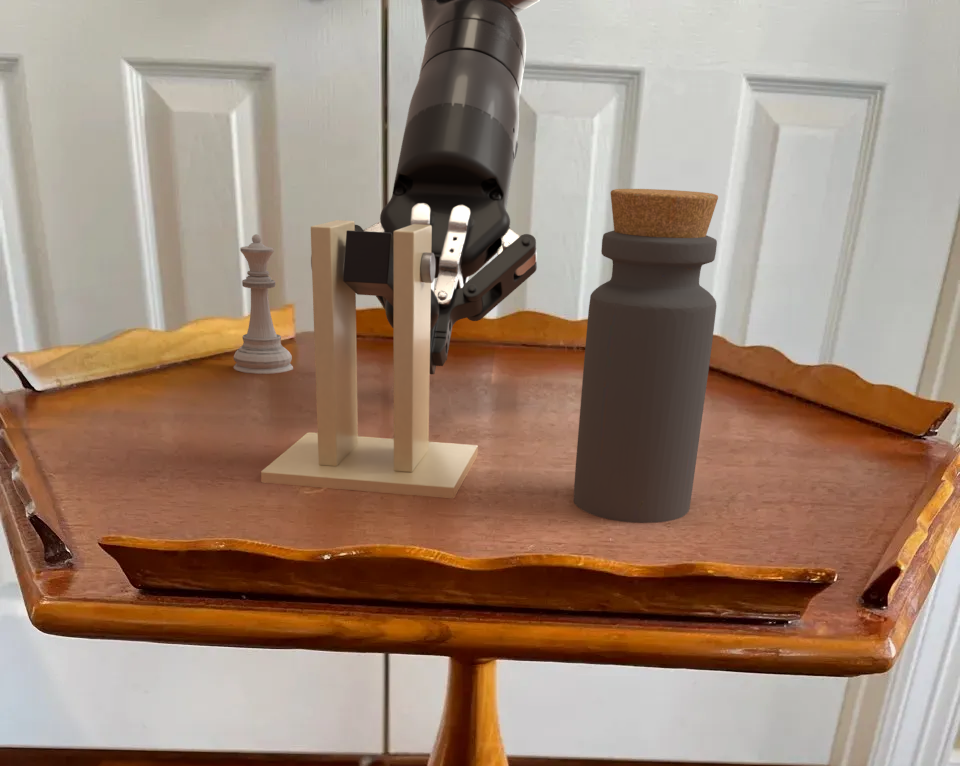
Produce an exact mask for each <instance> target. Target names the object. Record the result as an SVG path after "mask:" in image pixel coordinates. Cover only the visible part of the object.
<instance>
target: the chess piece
mask: <svg viewBox="0 0 960 766" xmlns="http://www.w3.org/2000/svg"><path fill="white" fill-rule="evenodd" d="M239 251H240V252H241V254H242V256H244V258H245V260H246V262H247V265H248V268H249V270H248V271H247V275H248V276H246V277H245V278H244V279H242V280H241V285H242V287H243V288H247V289H250V313H249V314H250V315H249V321H248V328H247V332H246V333H245V334H242V341H243V344H242V345H241V346H240V347H239V348H238V349H236V351H235V352H234V355H233V361H234V362H235V363H234V365H233V370H235V371H237V372H239V373H245V374H253V375H254V374H255V375H272V374H281V373H287V372H290V371H294V366H293V364H292V363H291V362H292V360H293V356H292V354H291V352H290V351H289V350H288V349H287V348H286V347H284V346H283V345H282V342H281V341H282V336H281V335H280V334H277V332H276V328H275V327H274V322H273V318H272V314H271V308H270V298H269V290H268V289H274V288H275V287H276V286H277V285H276V280H274V279H272V277H271V276H270V271H269V270H268V264H269V261H270V258H271V256H272V255H273V253H274V252H275V249H274V248H273V247H271V246H266V245H264V243H262V237H261V236H260V235H259V234H253V235H252V237H251V243H250V244H248V245H247V246H241V247H240V249H239Z"/></svg>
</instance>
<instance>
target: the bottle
mask: <svg viewBox="0 0 960 766" xmlns="http://www.w3.org/2000/svg"><path fill="white" fill-rule="evenodd" d="M610 200H611V201H610V202H611V211H612V213H611V214H612V221H613V230H611V231H607V232H605V233H603V235H602V239H601V255H602V256H603V257H605V258H607V259H609V260H611V261H612V270H611V277H610V279H609V280H608V281H606V282H603V283H602V284H600V285H599V286H598V287H596V288H595V289H594V290H593V291H592V292H591V293H590V297H589V302H588V311H587V324H586V336H585V347H584V358H583V359H584V360H583V368H582V370H583V371H582V381H581V382H582V383H581V394H580V395H581V396H580V406H579V409H580V410H579V418H578V419H579V420H578V431H577V432H578V433H577V443H576V455H575V456H576V458H575V468H574V482H573V483H574V484H573V499H572V500H573V504H574V506H576V507H577V508H578V509H580V510H581V511H582V512H585V513H587V514H588V515H592V516H595V517H598V518H601V519H606V520H611V521H616V522H623V523H633V524H634V523H636V524H654V523H655V524H656V523H666V522H671V521H675V520H678V519H681V518H683V517H685V516H686V515H687V514H688V513H689V512H690V510H691V509H690V508H691V501H692V495H693V487H694V481H695V480H694V479H695V474H696V473H695V472H696V466H697V459H698V453H699V452H698V451H699V443H700V435H701V429H702V421H703V413H704V406H705V399H706V393H707V384H708V378H709V370H710V364H711V356H712V355H711V354H712V349H713V338H714V331H715V321H716V313H717V300H716V299H715V298H714V296H713V295H712V293H710V292H709V291H708V290H707V289H706V288H704V287H702V285H700V279H701V278H700V277H701V270H702V267H703V266H704V265H707V264H710V263H713V262H714V261H715V258H716V254H717V246H718V242H717V241H718V240H717V239H716V238H714V237H712V236H710V235H707V233H708V231H709V228H710V225H711V221H712V219H713V217H714V213H715V209H716V206H717V203H718V200H719V196H718V195H717V194H715V193H710V192H703V191H693V190H692V191H691V190H677V189H676V190H675V189H659V188H657V189H655V188H614V189H611V190H610Z"/></svg>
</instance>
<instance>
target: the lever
mask: <svg viewBox="0 0 960 766" xmlns="http://www.w3.org/2000/svg"><path fill="white" fill-rule="evenodd" d="M343 281H344V282H345V283H346V284H347V285H348V286H349V287H350V288H351V289H352V290H353V291H354V292H355V293H356V295H358V296H374V297H376V296H384V297H385V298H386V299H387V300H386V305H385V309H384V311H385V316H386V319H387V323H388V325H390V327H391V328H392V329H393V330H394V237H393V235H392V234H391V233H387V232H368V231H349V230H347V233H346V247H345V262H344V276H343ZM438 316H439V302H438V299H437V297H436V295H435V293H434V292H433V290H432V289H431V314H430V330H431V329H432V328H433V327H434V326H435V324H436V322H437V320H438Z"/></svg>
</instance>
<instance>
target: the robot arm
mask: <svg viewBox="0 0 960 766" xmlns="http://www.w3.org/2000/svg"><path fill="white" fill-rule="evenodd" d="M540 1H541V0H420V3H421V10H422V11H421V12H422V21H423V28H424V34H425V45H424V50H423V53H422V59H421V64H420V69H419V74H418V79H417V83H416V86H415V88H414V90H413V94H412V96H411V99H410V103H409V107H408V112H407V116H406V122H405V125H404V126H405V127H404V132H403V136H402V142H401V148H400V152H399V157H398V163H397V167H396V172H395V177H394V183H393V188H392V195H391V197H390V199H389V201H388V202H387V203H386V204H385V205H384V207H383V208H382V210H381V212H380V215H379V221H378V222H376V223H374V224H372V225H370V226H368V227H366V228H364V229H363V228H362V226H360V225H359V224H355V231H368V232H387V233H391V234H392V235H393V237H394V231H395V230H398V229H401V228H404V227H407V226H410V225H413V224H422V225H431V226H432V247H431V253H434V256H435V277H434V281H433V282H432V283H431V289H432V290H433V292H434V293H435V295H436V297H437V299H438V302H439V316H438V320H437V322H436V324H435V326H434V327H433V328H432V329H431V330H430V375H435V373H436V368H437V367H443V366H444V365H445V363H446V362H447V360H448V356H449V350H450V343H451V338H452V337H451V336H452V331H453V327H454V325H455V324H456V322H458V321H459V320H463V319H468V320H469V321H470V322H478V321H481V320H482V319H483V318H485V316H487V315H488V314H489V313H490V312H491V311H492V310H494V308H496V307H497V306H498V305H499V304H500V303H502V302H503V301H504V300H505V299H506V298H507V297H509V295H511V294H512V293H513V292H514V291H515V290H517V289H518V288H519V287H520V286H521V285H522V284H523V283H524V282H525V281H526V280H528V279H530V277H531V276H533V274H535V273H536V271H537V269H538V264H537V263H538V262H537V261H538V253H537V252H538V251H537V240H536V237H534V235H533V234H529V233H525V234H521V235H519V234H518V233H517V232H515V231H514V230H512V229H511V218H510V215H509V213H508V211H507V210H508V203H509V196H510V190H511V182H512V176H513V169H514V164H515V159H516V157H517V153H518V147H519V142H518V141H519V140H518V137H519V129H520V97H521V92H522V86H523V79H524V72H525V67H526V66H525V64H526V55H527V40H526V39H527V38H526V34H525V30H524V27H523V24H522V22H521V20H520V18H519V17H518V15H517V14H519V13H521V12H523V11H524V10H526V9H528V8H530V7H531V6H533V5H535V4H537V3H539V2H540ZM496 254H497V255H496ZM495 255H496V256H495ZM493 257H494V258H493ZM492 258H493V259H492ZM490 260H491V261H490ZM471 276H472V277H471ZM470 277H471V278H470ZM469 278H470V279H469ZM435 281H436V282H435ZM375 298H377V300H378V301H379V303H380V305H381V306H382V308H383V309H384V310H385V305H386V300H387V299H386V298H385V297H384V296H375Z"/></svg>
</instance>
